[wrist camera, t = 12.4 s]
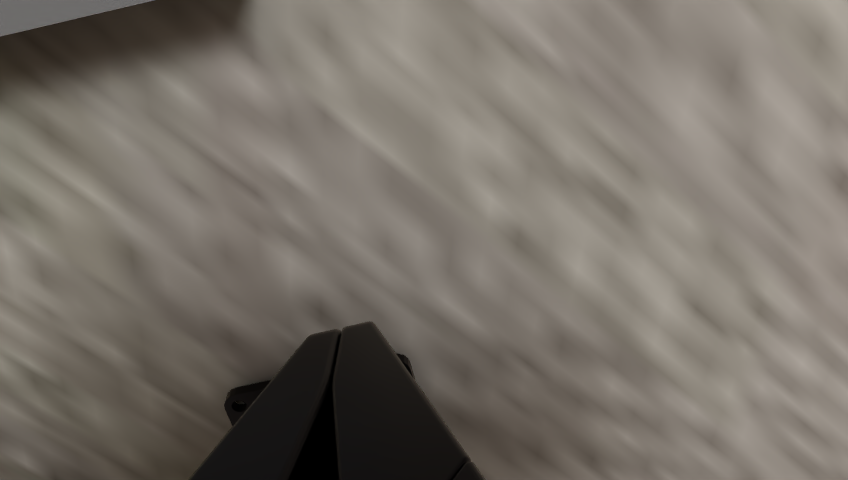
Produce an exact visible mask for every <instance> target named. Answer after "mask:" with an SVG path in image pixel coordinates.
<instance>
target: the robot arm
mask: <svg viewBox="0 0 848 480" xmlns="http://www.w3.org/2000/svg"><path fill="white" fill-rule="evenodd" d="M235 401H243V402H245V404H238V403H236V402H235ZM224 406H225V410H226V412H227V415H228V417H229V419H230V421H231V423H232V426H233V427H232V428H231V429H230V431H229V432H228V433H227V434H226V435H225V437H224V438H223V439H222V440H221V441H220V443H219V444H218V445H217V446H216V447H215V449H214V450H213V451H212V452H211V453H210V455H209V456H208V457H207V458H206V459H205V461H204V462H203V463H202V464H201V465H200V467H199V468H198V469H197V470H196V471H195V473H194V474H193V475H192V476H191V477H190V479H189V480H485V478H484V477H483V476H482V474H481V473H480V471H479V470H478V469H477V467H476V466H475V464H474V463H473V462H471V460H470V458H469V456H468V455H467V454H466V452H465V451H464V449H463V448H462V447H461V445H460V444H459V442H458V441H457V439H456V438H455V437H454V435H453V434H452V432H451V431H450V430H449V428H448V427H447V425H446V424H445V422H444V421H443V420H442V418H441V417H440V415H439V414H438V413H437V411H436V410H435V408H434V407H433V406H432V404H431V403H430V401H429V400H428V398H427V397H426V396H425V394H424V393H423V391H422V390H421V389H420V387H419V386H418V384H417V383H416V381H415V378H414V375H413V371H412V367H411V364H410V361H409V359H408V358H407V357H405V356H404V355H401V354H396V353H395V352H394V350H393V349H392V348H391V346H390V345H389V343H388V342H387V340H386V339H385V338H384V336H383V335H382V333H381V332H380V331H379V329H378V328H377V326H376V325H375V324H374V323H373V322H365V323H360V324H356V325H351V326H347V327H345V328H343V329H342V332H341V331H340V330H338V329H334V330H329V331H325V332H320V333H316V334H312V335H310V336H309V337H307V338H306V340H305V341H304V342H303V343H302V344H301V346H300V347H299V348H298V349H297V350H296V352H295V353H294V354H293V355H292V356H291V358H290V359H289V360H288V361H287V362H286V364H285V365H284V366H283V367H282V368H281V370H280V371H279V372H278V373H277V374H276V376H275V377H274V378H273V379H272V380H269V381H265V382H260V383H255V384H251V385H246V386H241V387H237V388H234V389H231V390H230V391H229V392H228V394H227V397H226V400H225V404H224Z"/></svg>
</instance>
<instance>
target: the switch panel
mask: <svg viewBox="0 0 848 480" xmlns="http://www.w3.org/2000/svg"><path fill="white" fill-rule="evenodd" d="M149 1H154V0H0V36H4V35H9V34H13V33H17V32H21V31H26V30H30V29H34V28H38V27H43V26H47V25H51V24H55V23H60V22H64V21H68V20H73V19H77V18H81V17H85V16H90V15H94V14H98V13H102V12H107V11H111V10H115V9H119V8H124V7H128V6H132V5H137V4H141V3H145V2H149Z"/></svg>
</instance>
